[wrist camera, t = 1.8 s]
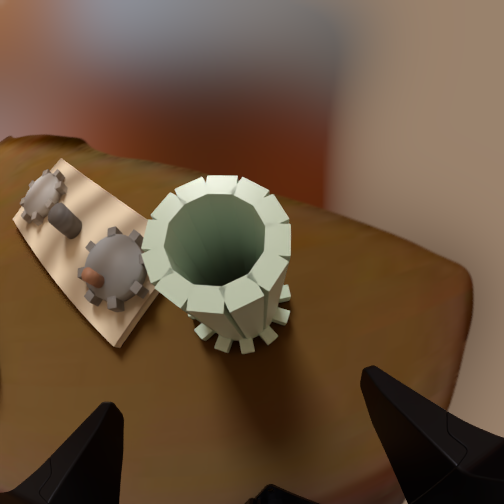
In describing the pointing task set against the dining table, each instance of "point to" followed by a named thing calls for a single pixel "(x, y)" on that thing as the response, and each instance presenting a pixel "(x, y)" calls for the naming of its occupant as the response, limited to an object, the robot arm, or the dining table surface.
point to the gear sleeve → (222, 258)
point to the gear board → (89, 248)
